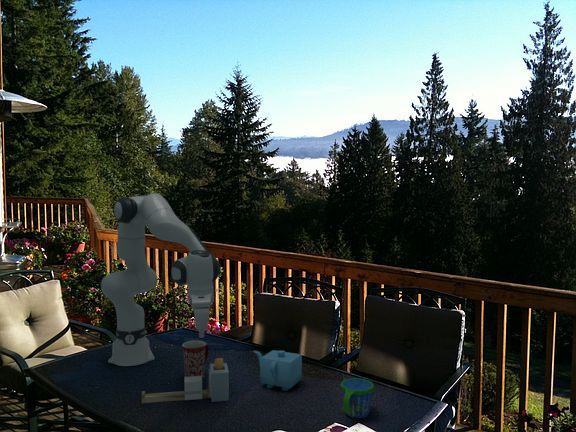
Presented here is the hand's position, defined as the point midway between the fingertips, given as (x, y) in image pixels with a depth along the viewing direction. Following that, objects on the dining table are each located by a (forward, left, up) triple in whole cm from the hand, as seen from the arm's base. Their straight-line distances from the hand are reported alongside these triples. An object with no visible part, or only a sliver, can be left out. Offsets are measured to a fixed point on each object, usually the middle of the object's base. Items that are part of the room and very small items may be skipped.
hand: (201, 336), depth 184 cm
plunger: (-1, +6, -14) cm, 15 cm away
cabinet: (-1, +6, -22) cm, 23 cm away
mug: (-21, -1, -22) cm, 30 cm away
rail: (0, -9, -22) cm, 24 cm away
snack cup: (+23, +49, -22) cm, 59 cm away
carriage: (-1, -3, -22) cm, 22 cm away
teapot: (-8, +27, -22) cm, 36 cm away
